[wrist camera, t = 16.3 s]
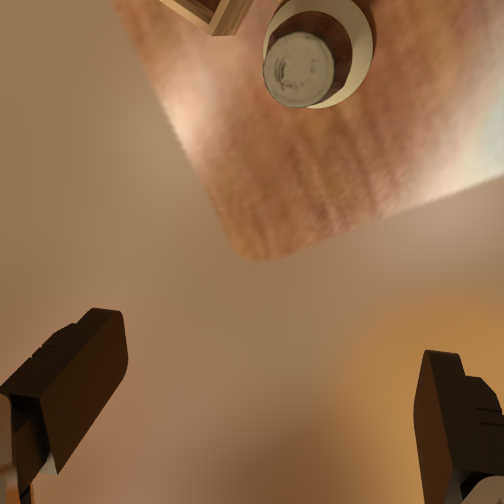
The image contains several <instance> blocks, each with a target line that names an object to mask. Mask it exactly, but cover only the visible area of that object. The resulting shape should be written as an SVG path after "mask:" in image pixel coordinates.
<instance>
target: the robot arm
mask: <svg viewBox="0 0 504 504" xmlns="http://www.w3.org/2000/svg"><path fill="white" fill-rule="evenodd" d="M127 365H128V352H127V344H126V336H125V328H124V321H123V316H122V313H121V312H120V311H116V310H107V309H100V308H91V309H90V310H89V311H88V312H87V313H86V314H85V315H84V316H83V317H82V318H81V319H80V320H79V321H78V322H77V323H76V324H75V323H71V324H69V325H68V326H66V327H64V328H62V329H60V330H58V331H57V332H55V333H54V334H53V335H52V336H51V337H50V338H49V339H48V340H47V341H45V342H44V344H42V347H41V348H38V349H37V350H36V352H34V353H33V354H32V357H31V358H30V357H29V358H28V359H27V360H26V361H25V362H24V363H23V364H22V365H21V367H19V368H18V369H17V370H16V371H15V372H14V373H13V374H12V375H11V376H10V377H9V378H8V379H7V380H6V381H5V382H4V383H3V384H2V385H1V386H0V504H35V503H34V490H33V485H32V481H33V479H34V478H35V477H36V475H37V474H38V472H42V473H47V474H52V475H58V474H59V472H60V471H61V469H62V468H63V467H64V465H65V464H66V462H67V461H68V459H69V458H70V456H71V454H72V453H73V452H74V450H75V449H76V447H77V446H78V444H79V443H80V441H81V440H82V439H83V437H84V436H85V434H86V433H87V431H88V430H89V428H90V427H91V425H92V424H93V422H94V421H95V419H96V418H97V416H98V415H99V413H100V412H101V410H102V409H103V408H104V406H105V405H106V403H107V402H108V400H109V399H110V397H111V396H112V394H113V393H114V391H115V390H116V388H117V387H118V386H119V384H120V383H121V381H122V380H123V378H124V375H125V373H126V370H127ZM413 414H414V429H415V436H416V443H417V450H418V458H419V465H420V472H421V479H422V486H423V494H424V501H425V504H504V415H502V409H501V407H500V404H499V401H498V399H497V396H496V394H495V393H494V391H493V390H492V389H491V388H490V387H489V386H488V385H487V384H486V383H485V382H484V381H483V380H482V378H480V377H472V376H465V372H464V370H463V366H462V363H461V359H460V356H459V355H458V354H457V353H450V352H440V351H433V350H425V352H424V355H423V359H422V364H421V369H420V374H419V379H418V384H417V389H416V395H415V400H414V413H413Z"/></svg>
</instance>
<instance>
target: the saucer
mask: <svg viewBox="0 0 504 504" xmlns="http://www.w3.org/2000/svg"><path fill="white" fill-rule="evenodd" d="M304 11H319V12H324V13H327V14H330V15H332V16H333V17H334V18H335V19H338V20H339V21H340V22H341V23H342V24H343V26H344V27H345V29H346V30H347V32H348V35H349V37H350V40H351V44H352V50H353V59H352V66H351V71H350V73H349V76H348V78H347V80H346V83H345V85H344V87H343V88H342V89H341V90H339V91H338V92H337V93H335V94H334V95H333V96H332V97H330V98H329V99H327V100H326V101H324V102H322V103H319V104H316V105H312V106H308V107H307V108H323V107H328V106H331V105H334V104H337V103H339V102H341V101H342V100H344V99H346V98H347V97H348V96H350V95H351V94H352V93H353V92H354V91H355V90H356V89H357V88H358V87H359V85H360V84H361V83H362V81H363V79H364V78H365V76H366V74H367V71H368V69H369V66H370V63H371V59H372V52H373V41H372V34H371V29H370V26H369V24H368V21H367V19H366V17H365V15H364V14H363V12H362V11H361V10H360V8H359V7H358V6H357V5H356V4H355V3H354V2H353V1H351V0H289V1H288V2H287V3H285V4H284V5H283V6H282V7H281V8H280V9H279V10H278V12H277V13H276V14H275V16H274V17H273V19H272V21H271V22H270V25H269V27H268V29H267V32H266V35H265V40H264V48H263V57H264V60H265V57H266V51H267V46H268V42H269V37H270V35H271V33H272V32H273V31H274V30H275V29H276V28H277V27H278V26H279V25H280V24H281V23H282V22H284V21H285V20H287V19H288V18H289V17H291V16H293V15H295V14H297V13H300V12H304Z"/></svg>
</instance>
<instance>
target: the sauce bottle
mask: <svg viewBox="0 0 504 504" xmlns="http://www.w3.org/2000/svg"><path fill="white" fill-rule="evenodd" d="M352 59H353V50H352V44H351V40H350V37H349V35H348V32H347V30H346V29H345V27H344V26H343V24H342V23H341V22H340V21H339V20H338V19H335V18H334V17H333V16H332V15H330V14H327V13H324V12H319V11H304V12H300V13H297V14H295V15H293V16H291V17H289V18H288V19H287V20H285V21H284V22H282V23H281V24H280V25H279V26H278V27H277V28H276V29H275V30H274V31H273V32H272V33H271V35H270V37H269V42H268V46H267V51H266V57H265V60H264V64H263V76H264V80H265V85H266V87H267V89H268V91H269V92H270V94H271V95H272V96H273V97H274V98H275V99H276V100H277V101H278V102H279V103H281V104H283V105H285V106H289V107H293V108H305V107H308V106H312V105H316V104H319V103H322V102H324V101H326V100H327V99H329V98H330V97H332V96H333V95H334V94H335V93H337V92H338V91H339V90H341V89H342V88H343V87H344V85H345V83H346V80H347V78H348V76H349V73H350V71H351V66H352Z"/></svg>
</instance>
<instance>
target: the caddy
mask: <svg viewBox="0 0 504 504" xmlns="http://www.w3.org/2000/svg"><path fill="white" fill-rule="evenodd" d="M159 1H161V2H162V3H164V4H165V5H167V6H168V7H170V8H171V9H173V10H174V11H176V12H177V13H178V14H180V15H181V16H183V17H184V18H186V19H187V20H189V21H190V22H192V23H193V24H195V25H196V26H198V27H199V28H200V29H202V30H203V31H205V32H206V33H208V34H209V35H211V36H228V35H235V34H236V33H237V31H238V29H239V27H240V25H241V23H242V21H243V19H244V17H245V15H246V14H247V12H248V10H249V8H250V6H251V4H252V2H253V0H221V1H220V3H219V5H218V7H217V9H216V11H215V13H214V12H212V11H211V10H209V9H208V8H207V7H205V6H204V5H202V4H201V3H199V2H198V1H196V0H159Z"/></svg>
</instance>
